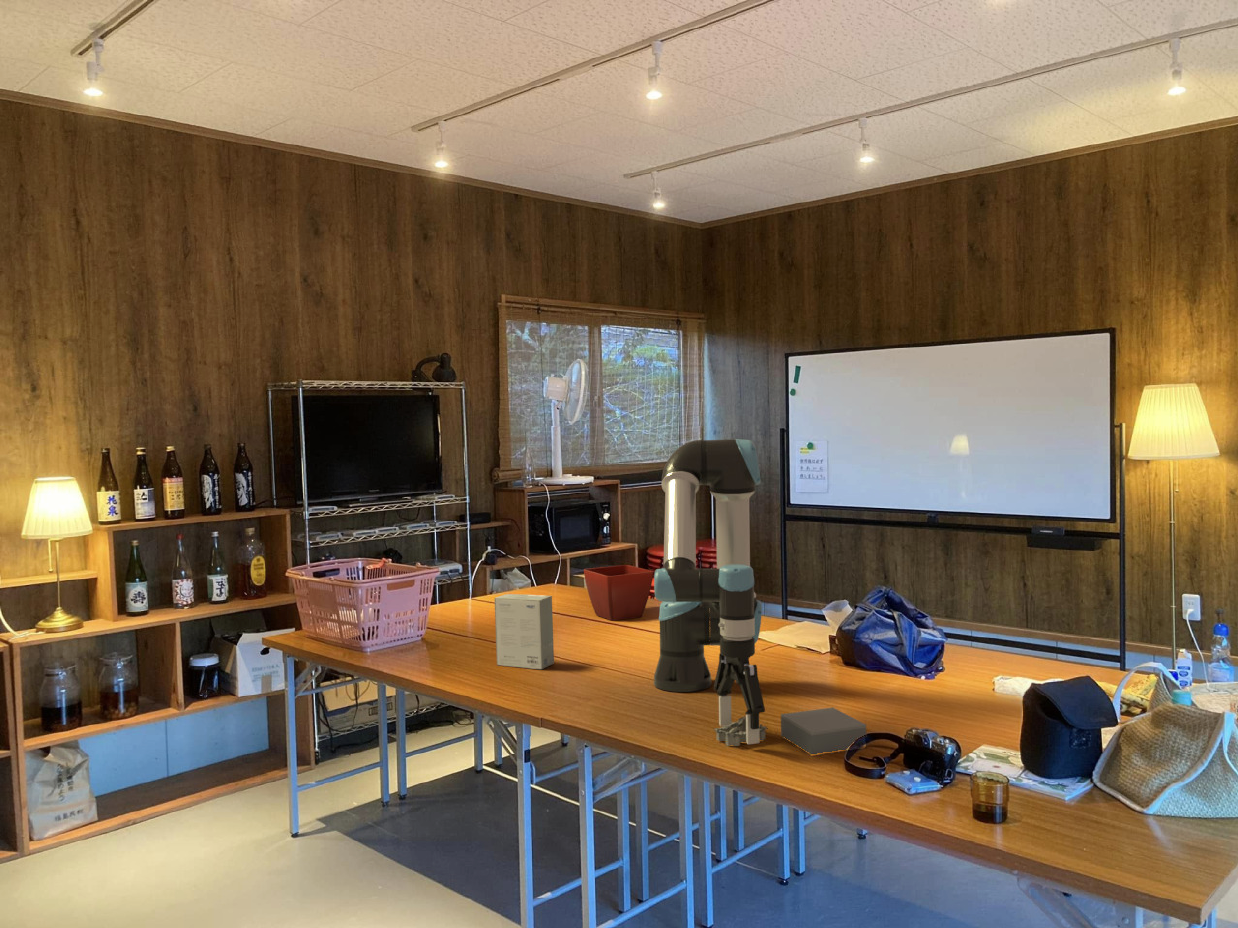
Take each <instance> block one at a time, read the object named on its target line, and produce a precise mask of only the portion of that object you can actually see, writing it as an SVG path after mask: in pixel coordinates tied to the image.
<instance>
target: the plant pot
mask: <svg viewBox="0 0 1238 928" xmlns="http://www.w3.org/2000/svg"><path fill="white" fill-rule="evenodd" d="M583 574H584V580H585V584H586V585H585V586H586V589H587V592H588V593H587V594H588V596H589V600H590V603H591V606H592V608H593V610H594V611H593V612H594V613H595V614H594V615H595V616H598V617H601V618H603V619H606V620H609V621H611V622H612V621H613V622H615V621H620V620H629V619H636V618H642V617H643V615H644V613H645V609H646V606H647V603H648V600H649V596H650V593H651V590H652V589H651V588H652V584H653V580H654V571H653V570H650V569H646V568H641V567H638V566H634V565H629V564H622V565H614V566H613V565H612V566H602V567H593V568H584V569H583Z"/></svg>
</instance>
